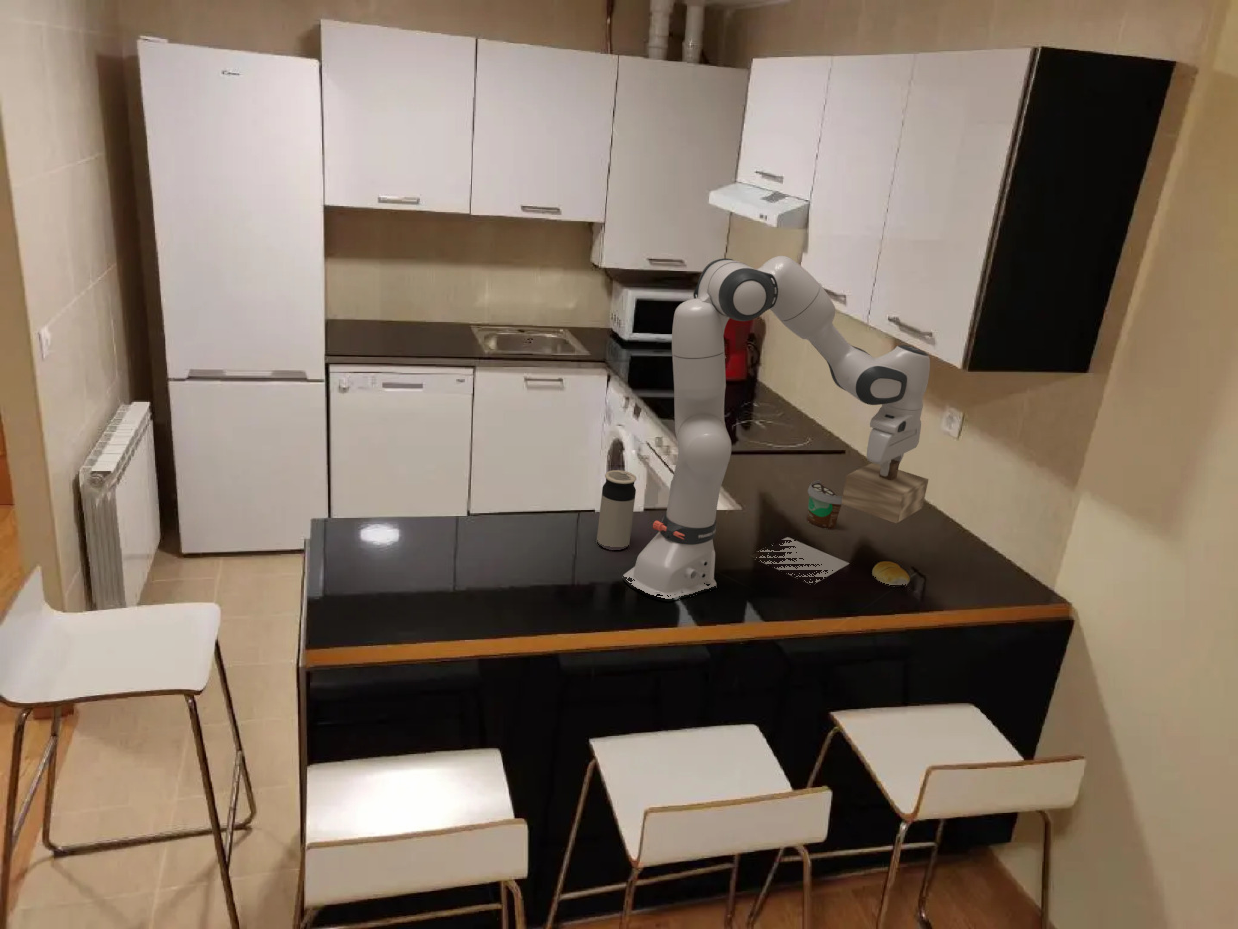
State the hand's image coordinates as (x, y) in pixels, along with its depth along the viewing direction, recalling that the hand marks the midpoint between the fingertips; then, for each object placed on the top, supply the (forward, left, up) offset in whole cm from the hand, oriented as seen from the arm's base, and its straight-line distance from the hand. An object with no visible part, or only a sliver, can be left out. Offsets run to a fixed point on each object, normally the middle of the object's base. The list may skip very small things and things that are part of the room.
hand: (888, 472), depth 215 cm
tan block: (0, 0, -8) cm, 8 cm away
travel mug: (-39, +48, -27) cm, 67 cm away
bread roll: (+2, -5, -27) cm, 27 cm away
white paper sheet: (-8, +14, -26) cm, 31 cm away
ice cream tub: (+17, +24, -27) cm, 39 cm away
